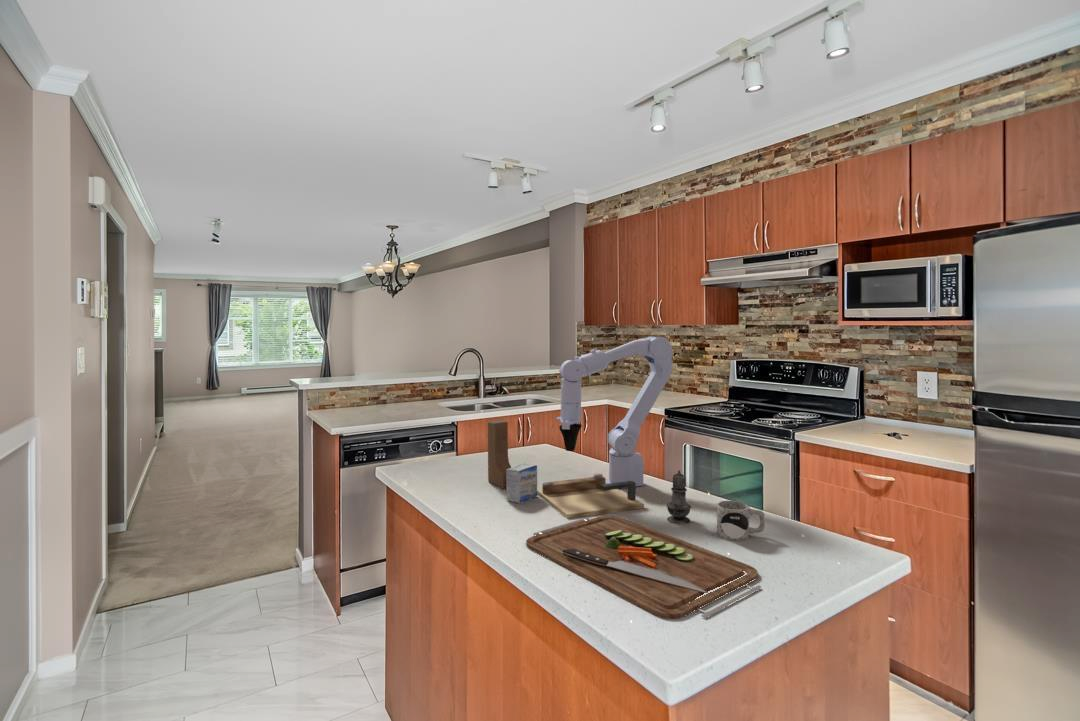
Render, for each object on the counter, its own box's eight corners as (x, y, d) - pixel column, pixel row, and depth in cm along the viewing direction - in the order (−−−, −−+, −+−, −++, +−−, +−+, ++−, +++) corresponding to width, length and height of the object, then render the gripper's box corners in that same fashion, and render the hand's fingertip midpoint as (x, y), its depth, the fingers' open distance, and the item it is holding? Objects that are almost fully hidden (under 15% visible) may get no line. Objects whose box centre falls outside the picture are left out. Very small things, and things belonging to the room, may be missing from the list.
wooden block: (516, 486, 160) (516, 424, 159) (503, 489, 158) (502, 425, 156) (500, 479, 167) (500, 419, 166) (487, 481, 165) (486, 421, 164)
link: (601, 483, 158) (601, 472, 158) (608, 487, 154) (608, 475, 154) (540, 490, 152) (540, 478, 151) (545, 495, 148) (545, 482, 148)
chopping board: (778, 583, 101) (778, 566, 101) (684, 633, 85) (684, 614, 85) (603, 516, 137) (603, 503, 136) (513, 542, 120) (513, 528, 120)
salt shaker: (692, 525, 129) (693, 473, 128) (666, 523, 130) (666, 472, 129) (690, 516, 134) (691, 467, 134) (665, 515, 136) (666, 466, 135)
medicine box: (519, 504, 144) (519, 471, 144) (506, 501, 147) (505, 468, 147) (537, 496, 151) (537, 464, 150) (524, 493, 153) (524, 462, 153)
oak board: (605, 485, 160) (605, 482, 160) (644, 507, 141) (644, 504, 141) (536, 493, 153) (536, 490, 153) (567, 518, 133) (567, 514, 133)
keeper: (632, 501, 146) (632, 480, 146) (636, 503, 144) (636, 482, 144) (600, 505, 143) (600, 484, 142) (603, 508, 141) (603, 486, 140)
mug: (719, 540, 120) (720, 509, 119) (714, 529, 126) (714, 500, 126) (768, 542, 118) (769, 511, 118) (760, 531, 125) (761, 501, 125)
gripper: (562, 398, 166) (561, 444, 167) (551, 405, 152) (550, 454, 153) (585, 399, 165) (585, 445, 166) (576, 406, 151) (576, 456, 151)
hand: (570, 450), depth 159 cm, fingers closed
